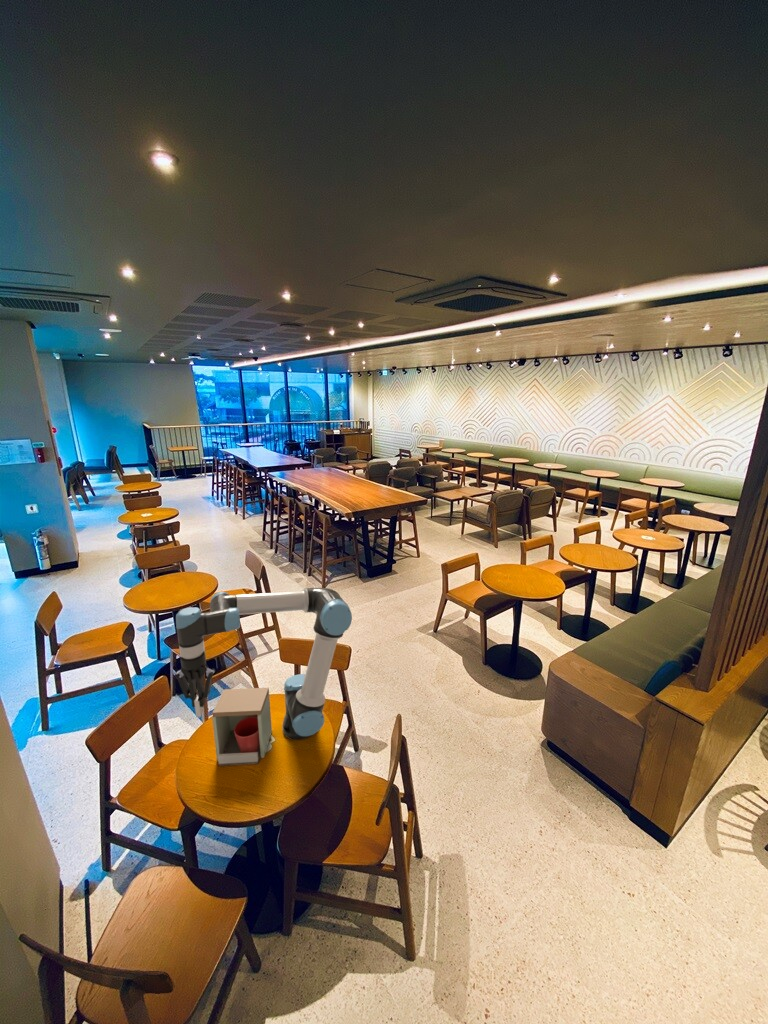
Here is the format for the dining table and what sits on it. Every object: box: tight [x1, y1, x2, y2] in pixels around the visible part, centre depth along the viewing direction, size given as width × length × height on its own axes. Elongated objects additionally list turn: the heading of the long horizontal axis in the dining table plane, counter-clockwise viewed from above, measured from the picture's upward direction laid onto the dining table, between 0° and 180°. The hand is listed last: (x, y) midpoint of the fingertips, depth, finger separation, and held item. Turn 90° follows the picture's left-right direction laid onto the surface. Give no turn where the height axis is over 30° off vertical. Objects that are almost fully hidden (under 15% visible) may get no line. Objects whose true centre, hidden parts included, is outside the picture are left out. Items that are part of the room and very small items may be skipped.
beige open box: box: [211, 687, 273, 761], centre depth 158 cm, size 18×14×21 cm
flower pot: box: [234, 717, 260, 753], centre depth 157 cm, size 11×11×10 cm
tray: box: [217, 731, 261, 767], centre depth 157 cm, size 15×14×4 cm
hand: (199, 714), depth 137 cm, fingers closed
